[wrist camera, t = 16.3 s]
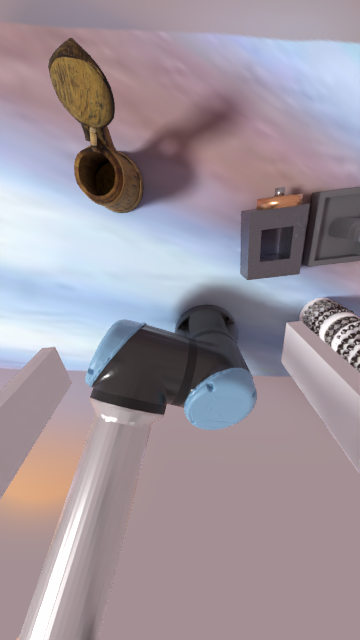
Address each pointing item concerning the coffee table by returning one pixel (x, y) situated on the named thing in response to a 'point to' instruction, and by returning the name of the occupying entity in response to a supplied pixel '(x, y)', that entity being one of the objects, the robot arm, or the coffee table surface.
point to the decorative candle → (334, 327)
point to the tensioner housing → (293, 228)
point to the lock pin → (345, 229)
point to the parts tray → (321, 215)
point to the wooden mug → (94, 130)
